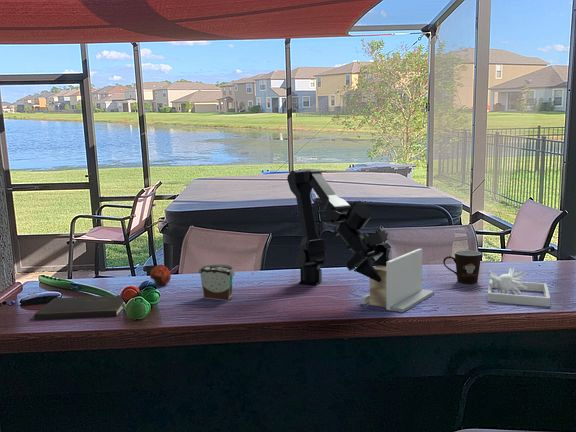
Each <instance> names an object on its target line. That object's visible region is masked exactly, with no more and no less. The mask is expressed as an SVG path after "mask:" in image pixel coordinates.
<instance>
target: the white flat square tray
mask: <svg viewBox="0 0 576 432" xmlns="http://www.w3.org/2000/svg"><path fill="white" fill-rule="evenodd" d="M489 282H490V283H491V284H492V279H489ZM517 282H519V283H522V284H523V286H526V287H528V288H526V289H527V290H526V289H525V288H523V287H517V288H518V289H519V290H520V291H528V292H529V291H531V292H542V293H543V295H544V296H537V295H535V296H534V295H525V294H517V295H515V294H512V293H507V294H505V293H504V294H502V292H493V290H492V291H491V288H490V286H489V285H488V290H487V302H493V303H501V304H502V303H503V304H516V305H525V306H538V307H546V308H547V307H550V306H551V295H550V291H549V288H548V283H543V282H542V283H541V282H533V281H532V282H530V281H528V282H527V281H517ZM495 284H496V283H494V286H495ZM492 289H498V284H497V285H496V287H494V288H493V287H492Z"/></svg>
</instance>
